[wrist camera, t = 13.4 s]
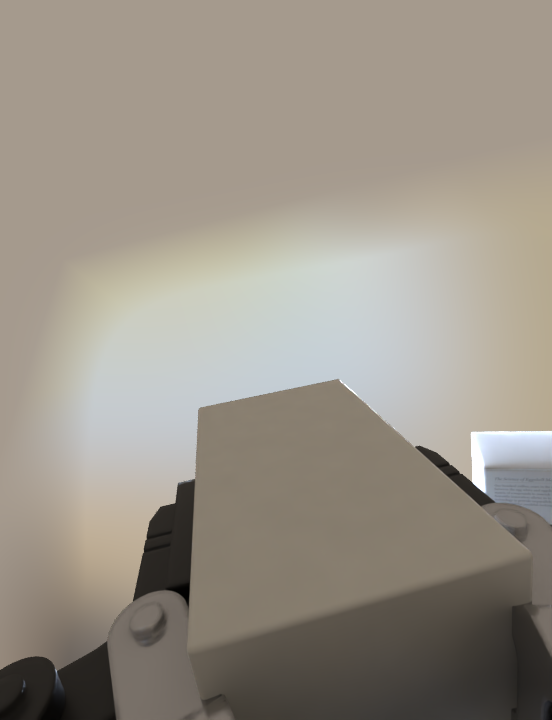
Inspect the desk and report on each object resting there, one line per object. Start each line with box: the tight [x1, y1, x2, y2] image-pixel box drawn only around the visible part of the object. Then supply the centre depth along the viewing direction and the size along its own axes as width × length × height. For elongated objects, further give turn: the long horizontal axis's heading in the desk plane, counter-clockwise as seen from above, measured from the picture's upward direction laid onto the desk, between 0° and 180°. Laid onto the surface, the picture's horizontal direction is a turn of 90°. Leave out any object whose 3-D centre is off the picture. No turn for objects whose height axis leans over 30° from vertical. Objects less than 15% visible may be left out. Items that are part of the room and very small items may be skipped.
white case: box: [187, 379, 533, 720], centre depth 10 cm, size 5×8×9 cm, turn 10°
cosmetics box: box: [471, 431, 552, 525], centre depth 32 cm, size 10×6×10 cm, turn 73°
